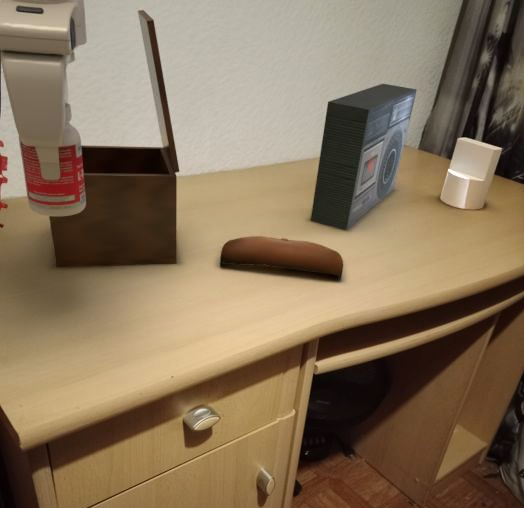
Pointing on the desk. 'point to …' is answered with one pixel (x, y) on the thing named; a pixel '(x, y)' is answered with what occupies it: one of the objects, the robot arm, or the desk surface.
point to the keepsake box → (121, 210)
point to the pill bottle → (67, 186)
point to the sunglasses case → (282, 254)
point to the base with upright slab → (470, 174)
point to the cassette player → (360, 153)
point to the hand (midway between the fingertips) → (53, 166)
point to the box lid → (158, 87)
